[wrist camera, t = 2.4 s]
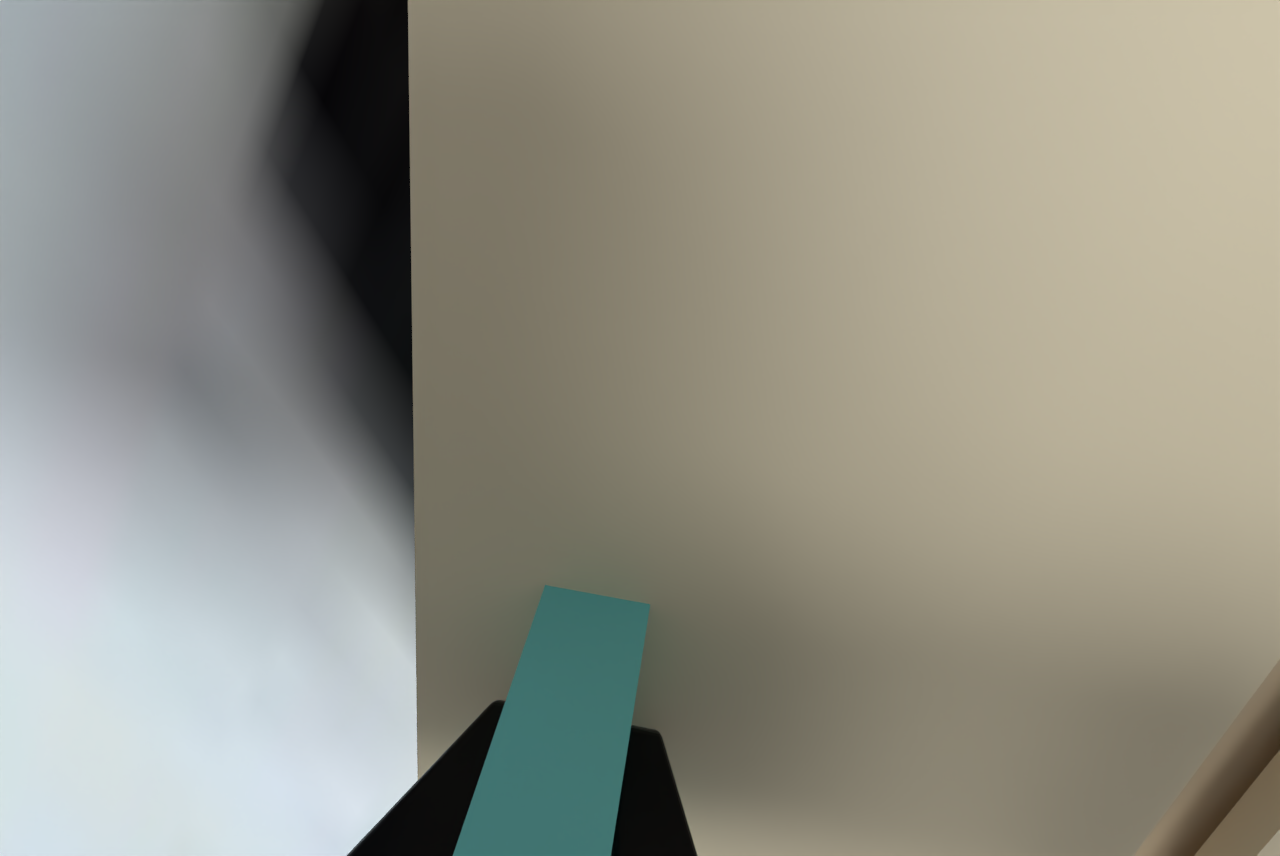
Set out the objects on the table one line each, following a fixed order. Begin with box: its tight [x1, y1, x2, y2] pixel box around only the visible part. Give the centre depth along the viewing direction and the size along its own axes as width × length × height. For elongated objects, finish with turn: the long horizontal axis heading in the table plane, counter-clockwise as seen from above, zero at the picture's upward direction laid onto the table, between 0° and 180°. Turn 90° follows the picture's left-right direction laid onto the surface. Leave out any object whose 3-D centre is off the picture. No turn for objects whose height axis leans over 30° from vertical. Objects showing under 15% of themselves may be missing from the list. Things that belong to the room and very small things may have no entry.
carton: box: [1134, 659, 1280, 856], centre depth 11 cm, size 20×16×4 cm
